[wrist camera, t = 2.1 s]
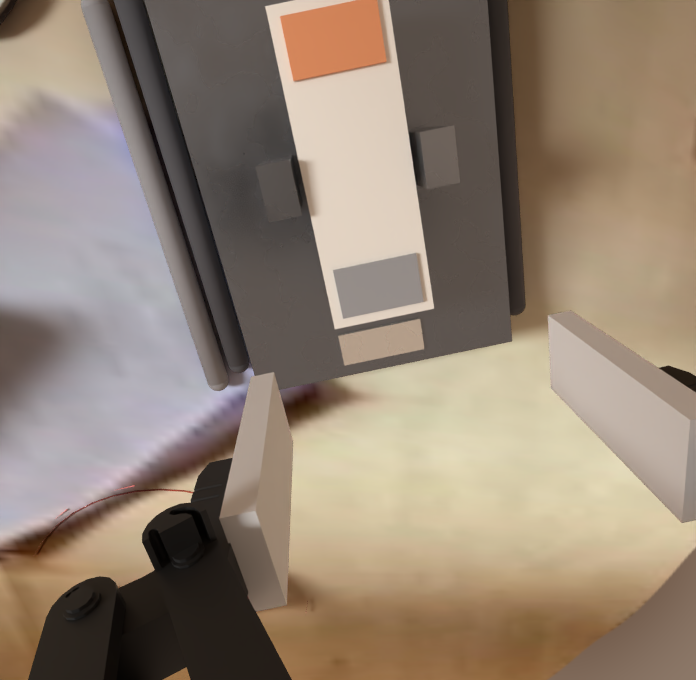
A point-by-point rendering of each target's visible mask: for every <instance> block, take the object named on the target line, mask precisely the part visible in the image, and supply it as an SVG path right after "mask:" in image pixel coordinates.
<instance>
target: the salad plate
mask: <svg viewBox="0 0 696 680" xmlns="http://www.w3.org/2000/svg"><path fill="white" fill-rule="evenodd" d="M16 1H17V0H0V24H1V23H2V22H3V21H4V19H5V18H6V16H7V15H8V13H9V12H10V11H11V9H12V8H13V6H14V5H15V3H16Z"/></svg>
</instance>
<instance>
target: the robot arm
mask: <svg viewBox="0 0 696 680" xmlns="http://www.w3.org/2000/svg"><path fill="white" fill-rule="evenodd" d="M548 330H549V354H550V379H551V389H552V390H553V391H554V392H555V393H556V394H557V395H558V396H559V397H560V398H561V399H562V400H563V401H564V402H565V403H566V404H567V405H568V406H569V407H570V408H571V409H572V410H573V412H574V413H575V414H576V415H577V416H578V417H579V418H580V419H581V420H582V421H583V422H584V423H585V424H586V425H587V426H588V427H589V428H590V429H591V430H592V431H593V432H594V433H595V434H596V435H597V436H598V437H599V438H600V439H601V440H602V441H603V442H604V443H605V444H606V445H607V446H608V447H609V449H610V450H611V451H612V452H613V453H614V454H615V455H616V456H617V457H618V458H619V459H620V460H621V461H622V462H623V463H624V464H625V465H626V466H627V467H628V468H629V469H630V470H631V471H632V472H633V473H634V474H635V475H636V476H637V477H638V478H639V479H640V480H641V481H642V482H643V483H644V485H645V486H646V487H647V488H648V489H649V490H650V491H651V492H652V493H653V494H654V495H655V496H656V497H657V498H658V499H659V500H660V501H661V502H662V503H663V504H664V505H665V506H666V507H667V508H668V509H669V510H670V511H671V512H672V513H673V514H674V515H675V516H676V517H677V518H678V519H679V520H680V522H681V523H684V522H689V521H694V520H696V376H694V375H693V374H691V373H689V372H686V371H683V370H680V369H677V368H674V367H671V366H666V367H661V368H658V367H656V366H655V365H653V364H652V363H650V362H649V361H647V360H646V359H644V358H642V357H641V356H639V355H638V354H636V353H635V352H633V351H632V350H630V349H629V348H627V347H626V346H624V345H623V344H621V343H620V342H618V341H617V340H615V339H614V338H612V337H611V336H609V335H608V334H606V333H604V332H603V331H601V330H600V329H598V328H597V327H595V326H594V325H592V324H591V323H589V322H588V321H586V320H585V319H583V318H582V317H580V316H579V315H577V314H576V313H574V312H573V311H571V310H570V311H565V312H560V313H556V314H551V315H548ZM292 461H293V439H292V436H291V432H290V428H289V425H288V421H287V417H286V414H285V410H284V407H283V403H282V399H281V396H280V392H279V389H278V385H277V381H276V378H275V374H274V372H272V373H267V374H262V375H258V376H253V377H251V379H250V384H249V388H248V393H247V397H246V402H245V406H244V410H243V415H242V419H241V424H240V428H239V433H238V437H237V442H236V446H235V450H234V455H233V458H230V459H225V460H220V461H215V462H211V463H209V464H208V465H207V466H206V468H205V469H204V470H203V471H202V472H201V474H200V475H199V476H198V479H197V482H196V485H195V489H194V491H195V492H193V495H192V498H191V503H184V504H178V505H176V506H173V507H170V508H168V509H166V510H165V511H163V512H161V513H160V514H158V515H157V516H156V517H155V518H154V519H153V520H152V521H151V522H149V523H148V525H147V526H146V528H145V530H144V532H143V534H142V543H143V545H144V547H145V549H146V551H147V553H148V556H149V558H150V560H151V562H152V564H153V567H154V569H155V570H154V571H153V572H151V573H149V574H148V575H146V576H144V577H142V578H140V579H138V580H135V581H133V582H131V583H129V584H127V585H124V586H122V587H120V588H118V587H117V585H116V583H115V582H114V581H113V580H112V579H110V578H109V577H100V576H99V577H95V578H91V579H87V580H85V581H83V582H81V583H79V584H77V585H75V586H73V587H72V588H71V589H69V590H68V591H67V592H65V593H64V594H63V595H62V596H61V597H60V598H59V599H58V600H57V601H56V602H55V603H54V605H53V606H52V607H51V609H50V611H49V613H48V615H47V617H46V621H45V624H44V627H43V631H42V634H41V638H40V641H39V644H38V648H37V651H36V655H35V658H34V661H33V665H32V668H31V672H30V675H29V679H28V680H163V679H164V678H166V677H168V676H170V675H172V674H174V673H176V672H178V671H180V670H182V669H183V668H185V667H187V669H188V673H189V676H190V679H191V680H292V679H291V677H290V675H289V674H288V672H287V670H286V668H285V666H284V664H283V662H282V660H281V658H280V657H279V655H278V653H277V651H276V649H275V647H274V645H273V643H272V642H271V640H270V638H269V636H268V634H267V632H266V630H265V628H264V626H263V625H262V623H261V621H260V619H259V617H258V615H257V613H256V612H257V611H262V610H266V609H271V608H276V607H281V606H286V605H287V589H288V563H289V538H290V512H291V487H292Z"/></svg>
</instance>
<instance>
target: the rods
mask: <svg viewBox="0 0 696 680" xmlns="http://www.w3.org/2000/svg"><path fill="white" fill-rule="evenodd" d="M487 2H488V16H489V30H490V43H491V57H492V71H493V85H494V99H495V113H496V126H497V140H498V154H499V168H500V182H501V195H502V209H503V223H504V237H505V251H506V265H507V278H508V292H509V306H510V315H518V314H520V313H522V312H523V310H524V309H525V290H524V273H523V256H522V239H521V223H520V206H519V189H518V172H517V155H516V139H515V122H514V105H513V88H512V71H511V54H510V38H509V21H508V4H507V0H487ZM114 3H115V7H116V10H117V13H118V16H119V19H120V22H121V26H122V29H123V32H124V35H125V38H126V42H127V45H128V48H129V51H130V54H131V57H132V61H133V64H134V67H135V70H136V73H137V76H138V80H139V83H140V86H141V89H142V92H143V96H144V99H145V102H146V105H147V108H148V111H149V115H150V118H151V121H152V124H153V127H154V131H155V134H156V137H157V140H158V143H159V146H160V150H161V153H162V156H163V159H164V162H165V166H166V169H167V172H168V175H169V178H170V181H171V185H172V188H173V191H174V194H175V197H176V200H177V204H178V207H179V210H180V213H181V216H182V220H183V223H184V226H185V229H186V232H187V235H188V239H189V242H190V245H191V248H192V251H193V255H194V258H195V261H196V264H197V267H198V270H199V274H200V277H201V280H202V283H203V286H204V289H205V293H206V296H207V299H208V302H209V305H210V309H211V312H212V315H213V318H214V321H215V324H216V328H217V331H218V334H219V337H220V340H221V344H222V347H223V350H224V353H225V356H226V359H227V363H228V366H229V368H230V369H231V370H232V371H233V372H236V373H241V372H244V371H245V370H246V369H247V368H248V366H249V359H248V355H247V352H246V348H245V345H244V342H243V338H242V335H241V331H240V328H239V325H238V321H237V318H236V315H235V311H234V308H233V304H232V301H231V298H230V294H229V291H228V288H227V284H226V281H225V277H224V274H223V271H222V267H221V264H220V260H219V257H218V254H217V250H216V247H215V244H214V240H213V237H212V233H211V230H210V227H209V223H208V220H207V217H206V213H205V210H204V206H203V203H202V200H201V196H200V193H199V189H198V186H197V183H196V179H195V176H194V173H193V169H192V166H191V162H190V159H189V156H188V152H187V149H186V146H185V142H184V139H183V135H182V132H181V129H180V125H179V122H178V118H177V115H176V112H175V108H174V105H173V102H172V98H171V95H170V91H169V88H168V85H167V81H166V78H165V75H164V71H163V68H162V64H161V61H160V58H159V54H158V51H157V47H156V44H155V41H154V37H153V34H152V31H151V27H150V24H149V20H148V17H147V14H146V10H145V7H144V3H143V0H114ZM81 8H82V11H83V14H84V17H85V20H86V23H87V26H88V29H89V32H90V35H91V38H92V41H93V44H94V47H95V50H96V53H97V56H98V59H99V62H100V65H101V68H102V71H103V74H104V77H105V80H106V83H107V86H108V89H109V91H110V94H111V97H112V100H113V103H114V106H115V109H116V112H117V115H118V118H119V121H120V124H121V127H122V130H123V133H124V136H125V139H126V142H127V145H128V148H129V151H130V154H131V157H132V160H133V163H134V166H135V169H136V172H137V175H138V178H139V180H140V183H141V186H142V189H143V192H144V195H145V198H146V201H147V204H148V207H149V210H150V213H151V216H152V219H153V222H154V225H155V228H156V231H157V234H158V237H159V240H160V243H161V246H162V249H163V252H164V255H165V258H166V261H167V264H168V267H169V269H170V272H171V275H172V278H173V281H174V284H175V287H176V290H177V293H178V296H179V299H180V302H181V305H182V308H183V311H184V314H185V317H186V320H187V323H188V326H189V329H190V332H191V335H192V338H193V341H194V344H195V347H196V350H197V353H198V356H199V359H200V361H201V364H202V367H203V370H204V373H205V376H206V379H207V382H208V385H209V387H210V388H211V389H213V390H215V391H221V390H223V389H225V388H226V387H227V385H228V382H229V378H228V375H227V372H226V369H225V365H224V362H223V359H222V356H221V353H220V350H219V347H218V343H217V340H216V337H215V334H214V331H213V328H212V325H211V321H210V318H209V315H208V312H207V309H206V306H205V303H204V299H203V296H202V293H201V290H200V287H199V284H198V281H197V277H196V274H195V271H194V268H193V265H192V262H191V258H190V255H189V252H188V249H187V246H186V243H185V240H184V236H183V233H182V230H181V227H180V224H179V221H178V218H177V214H176V211H175V208H174V205H173V202H172V199H171V196H170V192H169V189H168V186H167V183H166V180H165V177H164V174H163V170H162V167H161V164H160V161H159V158H158V155H157V152H156V148H155V145H154V142H153V139H152V136H151V133H150V130H149V126H148V123H147V120H146V117H145V114H144V111H143V107H142V104H141V101H140V98H139V95H138V92H137V89H136V85H135V82H134V79H133V76H132V73H131V70H130V67H129V63H128V60H127V57H126V54H125V51H124V48H123V45H122V41H121V38H120V35H119V32H118V29H117V26H116V23H115V19H114V16H113V13H112V10H111V7H110V4H109V2H108V1H107V0H81Z"/></svg>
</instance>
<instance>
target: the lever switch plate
mask: <svg viewBox="0 0 696 680" xmlns="http://www.w3.org/2000/svg"><path fill="white" fill-rule="evenodd" d="M144 1H145V5H146V8H147V11H148V15H149V18H150V22H151V25H152V28H153V32H154V35H155V39H156V42H157V45H158V49H159V52H160V55H161V59H162V62H163V66H164V69H165V72H166V76H167V79H168V83H169V86H170V89H171V93H172V96H173V100H174V103H175V106H176V110H177V113H178V117H179V120H180V123H181V127H182V130H183V134H184V137H185V140H186V144H187V147H188V151H189V154H190V157H191V161H192V164H193V167H194V171H195V174H196V178H197V181H198V184H199V188H200V191H201V195H202V198H203V201H204V205H205V208H206V212H207V215H208V218H209V222H210V225H211V229H212V232H213V235H214V239H215V242H216V246H217V249H218V252H219V256H220V259H221V263H222V266H223V269H224V273H225V276H226V279H227V283H228V286H229V290H230V293H231V296H232V300H233V303H234V307H235V310H236V313H237V317H238V320H239V324H240V327H241V330H242V334H243V337H244V341H245V344H246V347H247V351H248V354H249V358H250V361H251V364H252V368H253V371H254V375H255V376H258V375H262V374H267V373H272V372H274V374H275V378H276V381H277V385H278V389H279V390H281V389H286V388H290V387H295V386H300V385H305V384H309V383H314V382H319V381H324V380H329V379H333V378H338V377H343V376H348V375H353V374H357V373H362V372H367V371H372V370H377V369H381V368H386V367H391V366H396V365H401V364H405V363H410V362H415V361H420V360H424V359H429V358H434V357H439V356H444V355H448V354H453V353H458V352H463V351H468V350H472V349H477V348H482V347H487V346H492V345H496V344H501V343H506V342H511V341H512V334H511V320H510V306H509V292H508V278H507V265H506V251H505V237H504V223H503V209H502V195H501V182H500V168H499V154H498V140H497V126H496V113H495V99H494V85H493V71H492V57H491V43H490V30H489V16H488V2H487V0H389V6H390V12H391V19H392V26H393V33H394V40H395V46H396V53H397V60H398V67H399V73H400V80H401V87H402V94H403V100H404V107H405V114H406V121H407V128H408V134H409V141H410V148H411V155H412V161H413V168H414V175H415V182H416V189H417V195H418V202H419V209H420V216H421V222H422V229H423V236H424V243H425V249H426V256H427V263H428V270H429V277H430V283H431V290H432V297H433V304H434V309H430V310H425V311H420V312H416V313H411V314H406V315H401V316H396V317H392V318H387V319H382V320H377V321H373V322H368V323H363V324H358V325H353V326H349V327H344V328H339V329H335V328H334V323H333V318H332V314H331V309H330V304H329V300H328V295H327V291H326V286H325V281H324V277H323V272H322V267H321V263H320V258H319V253H318V249H317V244H316V240H315V235H314V230H313V226H312V221H311V216H310V212H309V207H308V202H307V198H306V193H305V189H304V184H303V179H302V175H301V170H300V165H299V161H298V156H297V152H296V147H295V142H294V138H293V133H292V128H291V124H290V119H289V114H288V110H287V105H286V101H285V96H284V91H283V87H282V82H281V77H280V73H279V68H278V63H277V59H276V54H275V50H274V45H273V40H272V36H271V31H270V26H269V22H268V17H267V13H266V8H265V6H269V5H274V4H279V3H283V2H288V1H293V0H144Z"/></svg>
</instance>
